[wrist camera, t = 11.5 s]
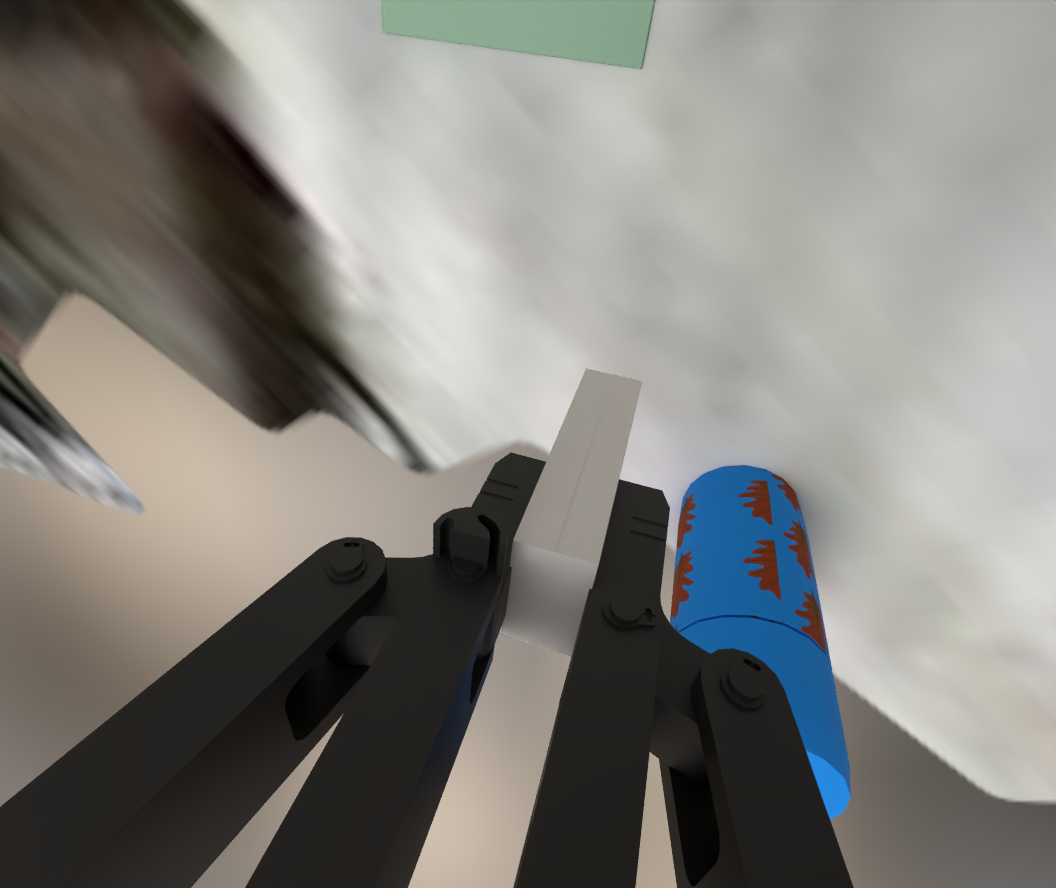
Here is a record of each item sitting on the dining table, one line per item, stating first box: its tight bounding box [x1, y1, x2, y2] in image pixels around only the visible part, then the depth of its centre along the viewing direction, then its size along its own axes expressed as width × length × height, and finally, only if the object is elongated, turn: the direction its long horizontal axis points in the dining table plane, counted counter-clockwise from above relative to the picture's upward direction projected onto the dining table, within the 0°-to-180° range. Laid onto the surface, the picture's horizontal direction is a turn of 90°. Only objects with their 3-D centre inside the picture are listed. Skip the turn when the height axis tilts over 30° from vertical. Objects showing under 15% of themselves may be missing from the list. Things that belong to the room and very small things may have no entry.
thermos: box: [670, 465, 851, 819], centre depth 43 cm, size 11×11×25 cm
